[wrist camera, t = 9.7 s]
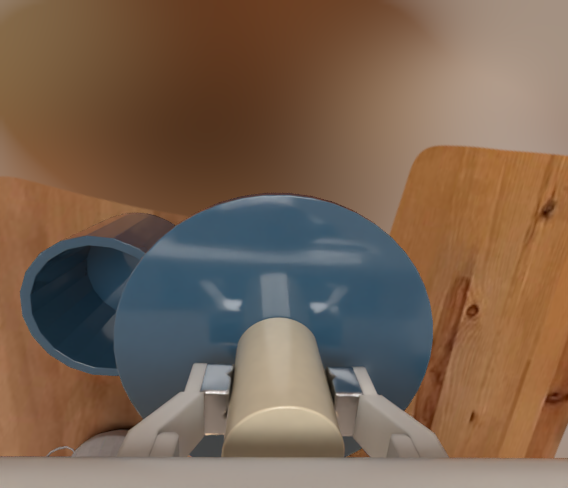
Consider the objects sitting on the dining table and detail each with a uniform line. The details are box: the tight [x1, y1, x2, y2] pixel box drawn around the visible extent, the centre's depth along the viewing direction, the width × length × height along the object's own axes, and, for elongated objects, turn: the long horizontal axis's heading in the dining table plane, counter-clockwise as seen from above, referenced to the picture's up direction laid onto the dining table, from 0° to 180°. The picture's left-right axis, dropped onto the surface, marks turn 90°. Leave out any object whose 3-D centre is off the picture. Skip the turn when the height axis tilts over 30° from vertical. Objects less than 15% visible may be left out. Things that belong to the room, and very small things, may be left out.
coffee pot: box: [46, 430, 129, 457], centre depth 35 cm, size 21×12×15 cm, turn 171°
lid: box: [114, 193, 433, 457], centre depth 13 cm, size 14×14×6 cm
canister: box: [20, 213, 175, 376], centre depth 32 cm, size 13×13×10 cm
